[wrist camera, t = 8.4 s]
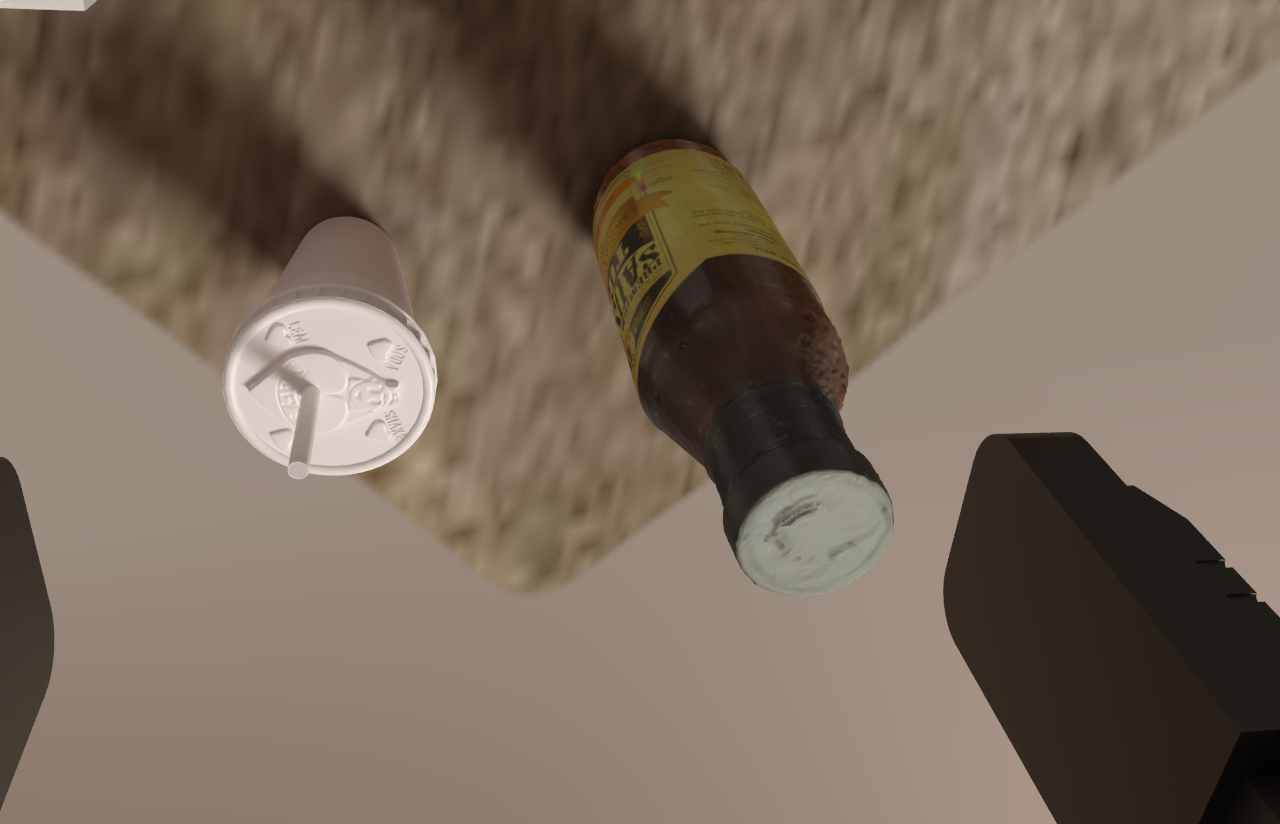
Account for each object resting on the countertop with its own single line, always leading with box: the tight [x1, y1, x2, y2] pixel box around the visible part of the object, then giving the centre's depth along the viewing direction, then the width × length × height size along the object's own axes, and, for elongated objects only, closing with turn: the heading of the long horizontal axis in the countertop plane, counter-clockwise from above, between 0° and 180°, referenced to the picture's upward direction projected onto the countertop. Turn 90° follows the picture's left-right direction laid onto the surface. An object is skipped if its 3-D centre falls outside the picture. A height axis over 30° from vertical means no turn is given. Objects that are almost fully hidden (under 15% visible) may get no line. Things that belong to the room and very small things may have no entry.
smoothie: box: [223, 216, 438, 479], centre depth 37 cm, size 6×6×14 cm
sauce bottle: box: [592, 138, 894, 597], centre depth 36 cm, size 7×6×20 cm
